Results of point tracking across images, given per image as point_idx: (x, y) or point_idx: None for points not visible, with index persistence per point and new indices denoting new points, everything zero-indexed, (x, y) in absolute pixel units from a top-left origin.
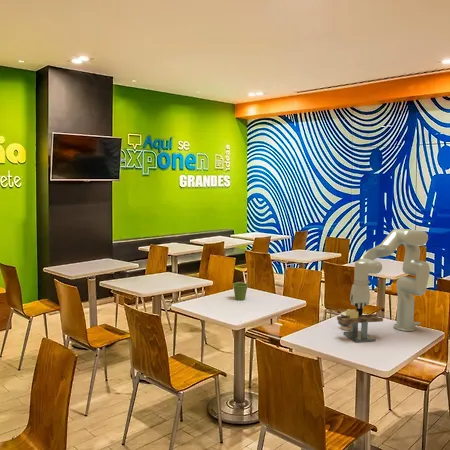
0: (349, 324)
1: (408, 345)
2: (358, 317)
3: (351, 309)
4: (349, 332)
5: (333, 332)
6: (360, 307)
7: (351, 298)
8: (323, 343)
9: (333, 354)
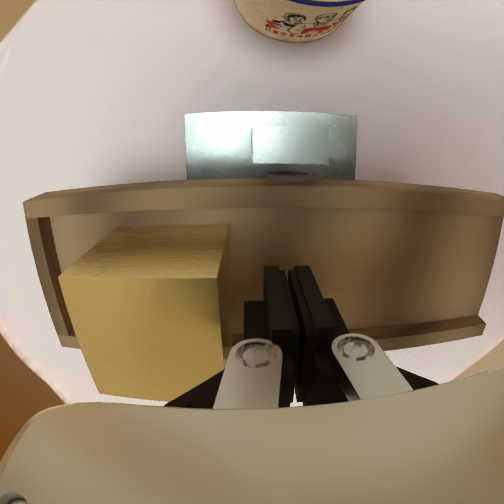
0: (282, 24)
1: (441, 353)
2: (302, 214)
3: (154, 280)
4: (225, 137)
5: (135, 67)
6: (310, 389)
7: (37, 471)
8: (30, 274)
9: (64, 391)
